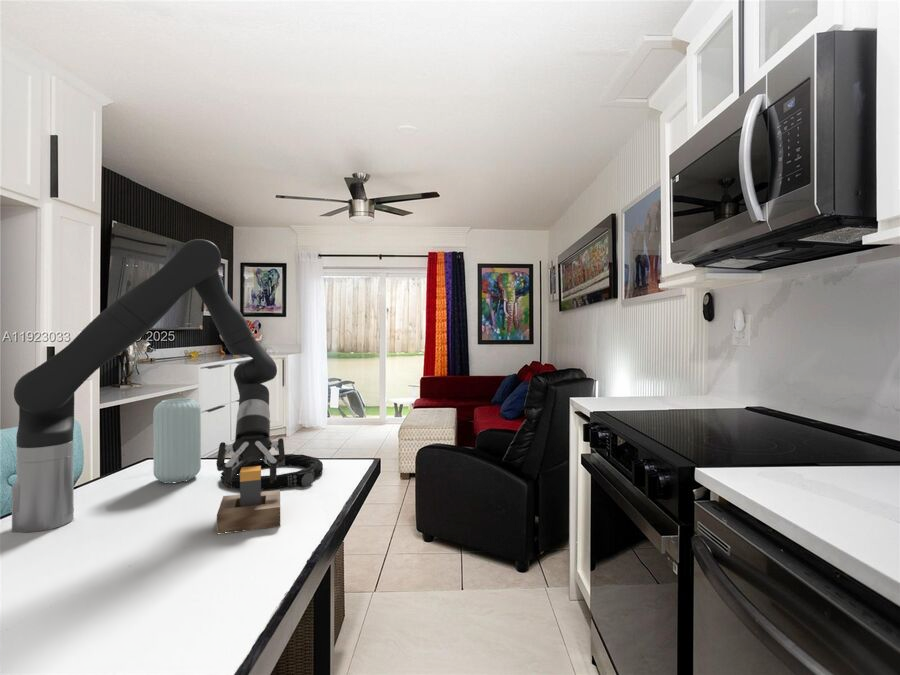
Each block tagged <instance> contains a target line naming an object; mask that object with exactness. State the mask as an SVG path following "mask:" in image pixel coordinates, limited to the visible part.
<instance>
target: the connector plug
mask: <svg viewBox="0 0 900 675" xmlns="http://www.w3.org/2000/svg"><path fill="white" fill-rule="evenodd" d="M239 475H240V489H239V494H240V507H245V506H253V505H261V492H262V489H261V476H262V468H261V466H253V467H242V468H241V471H240V474H239Z"/></svg>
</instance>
